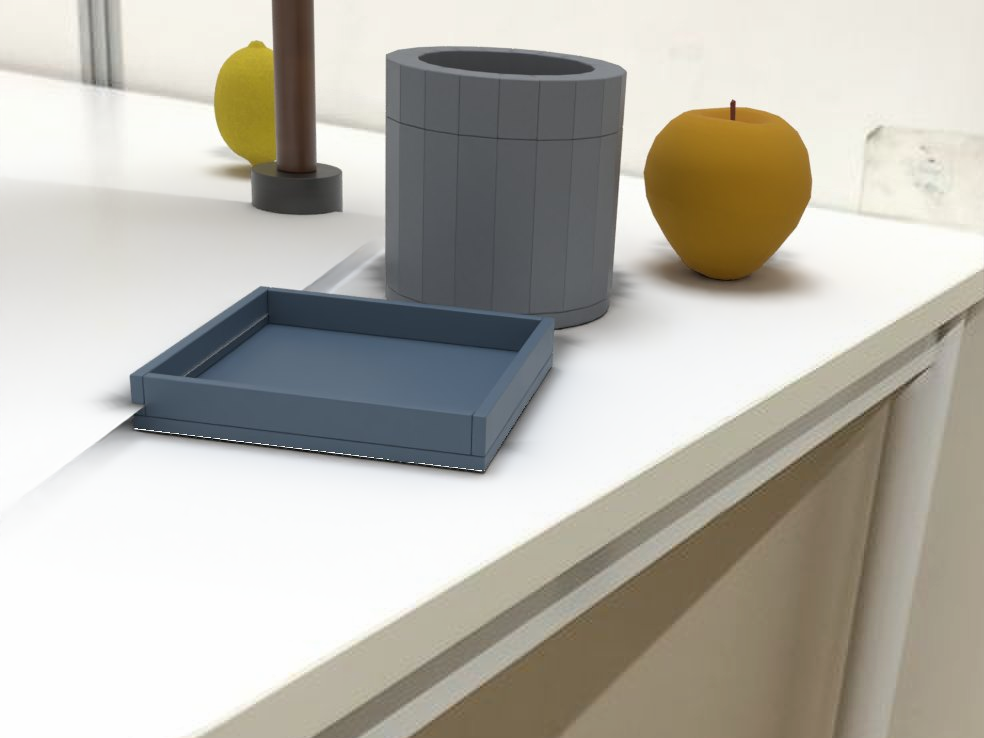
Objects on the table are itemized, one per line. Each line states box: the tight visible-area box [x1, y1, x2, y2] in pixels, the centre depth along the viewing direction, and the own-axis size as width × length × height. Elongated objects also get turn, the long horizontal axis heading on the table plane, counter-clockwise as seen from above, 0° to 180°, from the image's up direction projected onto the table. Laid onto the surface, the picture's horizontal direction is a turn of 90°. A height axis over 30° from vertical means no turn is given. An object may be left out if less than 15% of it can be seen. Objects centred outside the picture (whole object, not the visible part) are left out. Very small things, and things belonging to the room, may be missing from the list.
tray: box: [129, 285, 555, 471], centre depth 59 cm, size 13×13×2 cm
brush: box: [250, 0, 344, 216], centre depth 81 cm, size 5×5×15 cm
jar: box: [384, 45, 628, 330], centre depth 71 cm, size 11×11×11 cm
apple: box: [643, 99, 813, 281], centre depth 79 cm, size 9×9×9 cm
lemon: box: [213, 39, 276, 167], centre depth 95 cm, size 6×6×8 cm
